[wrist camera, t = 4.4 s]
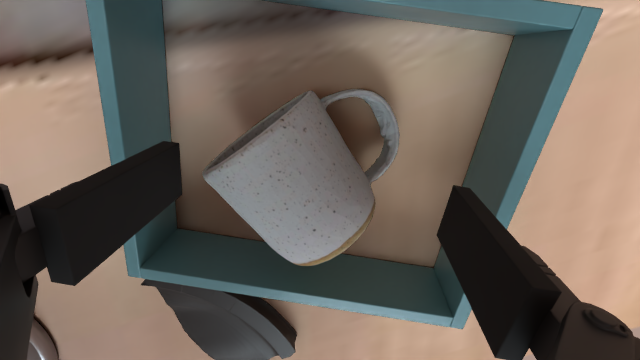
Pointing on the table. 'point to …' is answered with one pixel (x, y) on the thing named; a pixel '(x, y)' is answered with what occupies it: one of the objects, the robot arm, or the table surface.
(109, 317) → the table surface
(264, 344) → the dark sector wedge
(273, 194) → the ceramic mug
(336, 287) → the teal rectangular frame
